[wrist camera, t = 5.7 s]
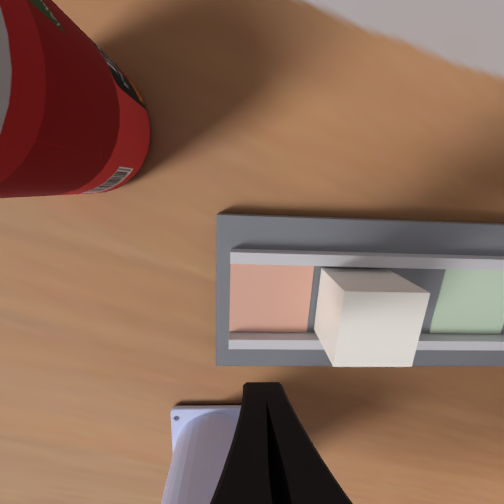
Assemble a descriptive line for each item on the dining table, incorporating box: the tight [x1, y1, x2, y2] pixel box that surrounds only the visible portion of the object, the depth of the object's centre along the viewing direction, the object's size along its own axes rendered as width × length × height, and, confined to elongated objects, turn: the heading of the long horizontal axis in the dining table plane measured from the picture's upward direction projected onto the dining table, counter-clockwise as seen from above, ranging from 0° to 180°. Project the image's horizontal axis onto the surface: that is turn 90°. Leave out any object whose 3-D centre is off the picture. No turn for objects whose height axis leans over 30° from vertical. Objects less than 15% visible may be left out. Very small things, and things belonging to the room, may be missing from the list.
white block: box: [314, 268, 430, 367], centre depth 16 cm, size 5×5×4 cm
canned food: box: [0, 0, 151, 198], centre depth 10 cm, size 8×8×11 cm
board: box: [216, 213, 504, 366], centre depth 18 cm, size 12×26×3 cm, turn 88°
